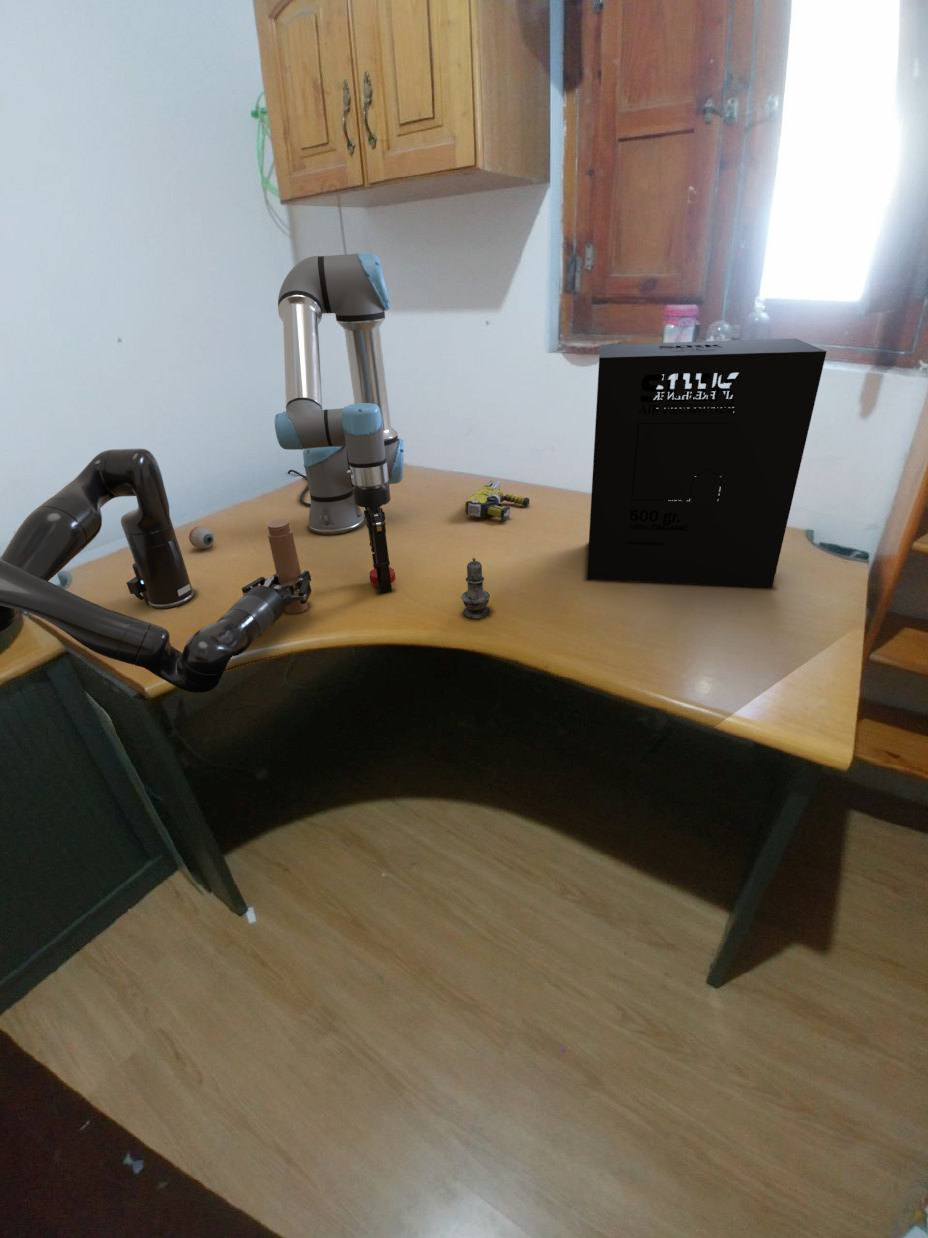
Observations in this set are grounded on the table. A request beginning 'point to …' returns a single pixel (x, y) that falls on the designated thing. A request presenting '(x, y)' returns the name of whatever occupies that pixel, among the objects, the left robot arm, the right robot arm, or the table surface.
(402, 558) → the table surface
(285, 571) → the jar
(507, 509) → the toy gun
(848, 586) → the table surface
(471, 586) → the dark grey tiered figure
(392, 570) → the lid
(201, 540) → the eyeball
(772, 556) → the cardboard box
